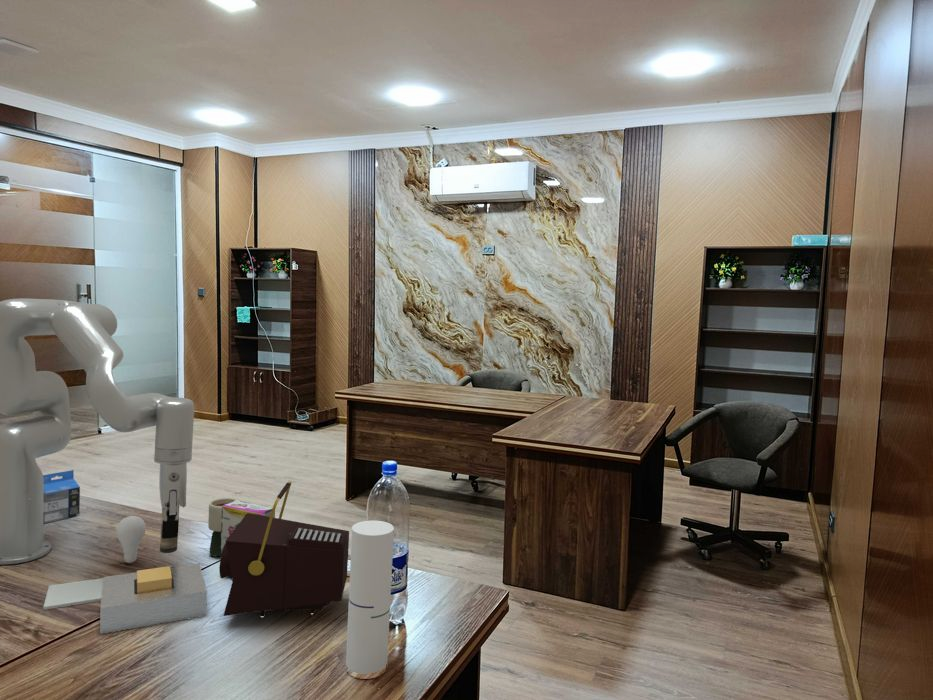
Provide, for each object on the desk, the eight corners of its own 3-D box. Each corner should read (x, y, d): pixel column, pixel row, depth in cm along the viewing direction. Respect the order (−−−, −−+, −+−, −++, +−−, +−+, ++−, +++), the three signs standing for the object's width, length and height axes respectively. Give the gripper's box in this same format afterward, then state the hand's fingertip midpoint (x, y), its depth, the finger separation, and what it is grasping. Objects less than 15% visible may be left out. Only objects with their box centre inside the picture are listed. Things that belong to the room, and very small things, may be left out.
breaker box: (100, 634, 113) (100, 608, 113) (102, 600, 125) (103, 577, 125) (205, 615, 122) (206, 591, 122) (198, 586, 134) (199, 563, 134)
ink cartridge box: (44, 524, 164) (44, 478, 163) (37, 520, 166) (37, 475, 165) (80, 515, 171) (80, 472, 170) (73, 512, 173) (73, 469, 172)
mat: (43, 610, 121) (43, 607, 121) (49, 588, 129) (49, 585, 129) (102, 600, 125) (102, 598, 125) (104, 580, 134) (104, 577, 134)
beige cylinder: (160, 553, 136) (162, 500, 135) (159, 547, 139) (162, 495, 138) (177, 551, 138) (180, 499, 137) (176, 546, 141) (179, 494, 140)
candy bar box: (218, 576, 139) (220, 505, 138) (233, 568, 144) (235, 499, 143) (259, 586, 136) (262, 513, 135) (273, 577, 140) (276, 506, 139)
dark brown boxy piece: (239, 589, 134) (242, 476, 132) (347, 591, 136) (352, 479, 134) (215, 629, 117) (219, 500, 116) (339, 630, 119) (344, 503, 118)
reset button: (137, 598, 119) (137, 583, 119) (136, 585, 125) (137, 570, 124) (171, 592, 122) (171, 578, 122) (169, 580, 127) (170, 566, 127)
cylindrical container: (347, 655, 111) (354, 520, 109) (387, 656, 112) (394, 521, 110) (343, 679, 104) (349, 534, 102) (386, 679, 104) (393, 535, 103)
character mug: (248, 556, 151) (250, 504, 150) (221, 564, 145) (222, 510, 144) (225, 543, 158) (226, 493, 157) (198, 551, 152) (199, 499, 151)
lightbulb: (150, 558, 146) (151, 513, 146) (134, 569, 140) (135, 522, 140) (126, 556, 147) (127, 511, 146) (109, 567, 141) (110, 519, 140)
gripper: (195, 462, 131) (190, 546, 133) (188, 444, 146) (184, 519, 147) (155, 464, 128) (151, 550, 129) (153, 445, 142) (149, 523, 144)
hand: (169, 533), depth 138 cm, fingers closed on beige cylinder, 3 cm apart
